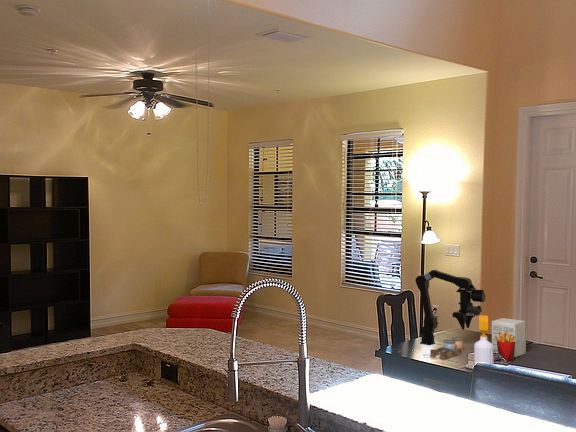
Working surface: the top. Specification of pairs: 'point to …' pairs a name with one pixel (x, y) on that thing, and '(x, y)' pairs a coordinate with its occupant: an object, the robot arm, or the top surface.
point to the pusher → (445, 349)
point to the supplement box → (510, 327)
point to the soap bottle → (483, 343)
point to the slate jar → (449, 344)
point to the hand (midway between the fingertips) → (465, 328)
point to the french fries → (506, 346)
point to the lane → (444, 355)
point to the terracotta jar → (458, 343)
